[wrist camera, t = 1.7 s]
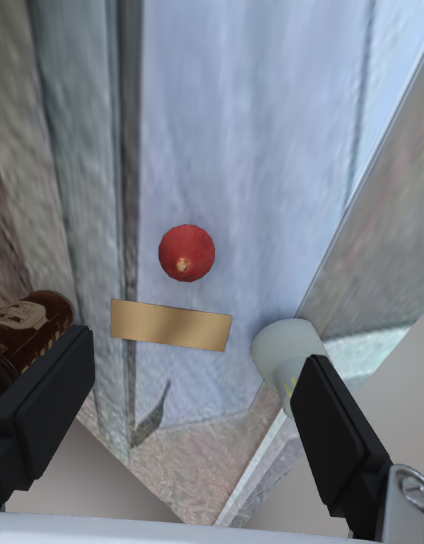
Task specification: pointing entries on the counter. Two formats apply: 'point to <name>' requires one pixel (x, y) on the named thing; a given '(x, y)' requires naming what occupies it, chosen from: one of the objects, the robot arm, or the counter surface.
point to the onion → (186, 253)
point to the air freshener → (285, 355)
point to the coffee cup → (30, 332)
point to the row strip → (169, 325)
